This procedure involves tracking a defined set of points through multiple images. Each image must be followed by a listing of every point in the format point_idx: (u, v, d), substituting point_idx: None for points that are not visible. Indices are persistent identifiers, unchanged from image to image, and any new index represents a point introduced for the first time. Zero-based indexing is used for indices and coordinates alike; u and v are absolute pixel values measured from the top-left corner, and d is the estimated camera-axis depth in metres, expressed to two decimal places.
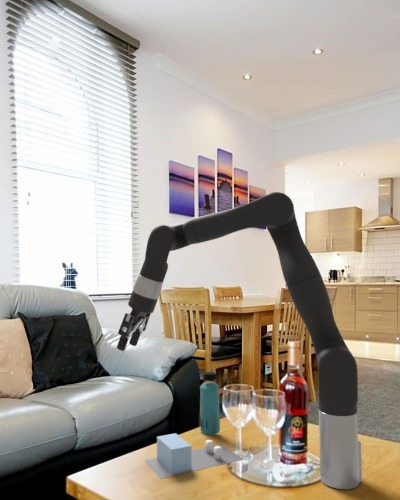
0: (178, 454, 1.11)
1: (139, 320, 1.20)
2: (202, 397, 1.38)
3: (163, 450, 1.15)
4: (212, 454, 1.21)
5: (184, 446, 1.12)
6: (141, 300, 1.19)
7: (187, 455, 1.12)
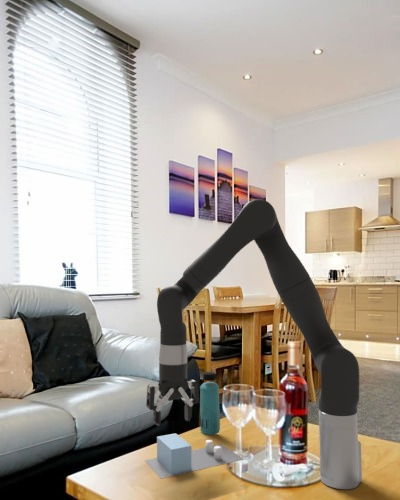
0: (178, 454, 1.11)
1: (168, 390, 1.14)
2: (202, 397, 1.38)
3: (163, 450, 1.15)
4: (212, 454, 1.21)
5: (184, 446, 1.12)
6: (161, 368, 1.14)
7: (187, 455, 1.12)
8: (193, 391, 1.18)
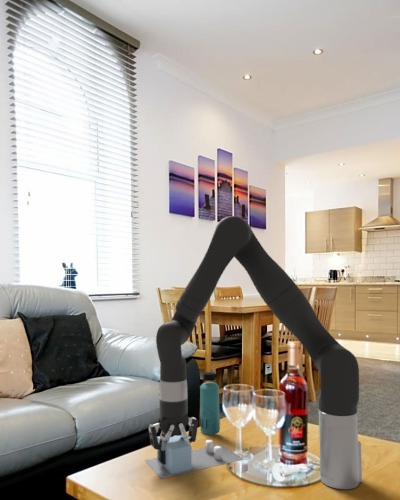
0: (178, 454, 1.11)
1: (169, 427, 1.14)
2: (202, 397, 1.38)
3: None
4: (212, 454, 1.21)
5: (184, 446, 1.12)
6: (161, 405, 1.14)
7: (187, 455, 1.12)
8: (192, 429, 1.18)
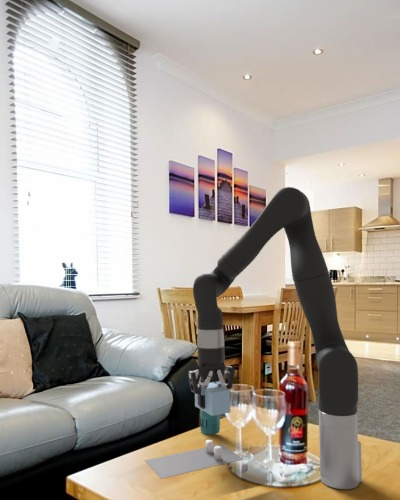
0: (218, 397, 1.16)
1: (207, 373, 1.19)
2: None
3: None
4: (212, 454, 1.21)
5: (223, 390, 1.18)
6: (200, 352, 1.19)
7: (226, 398, 1.17)
8: (228, 376, 1.23)
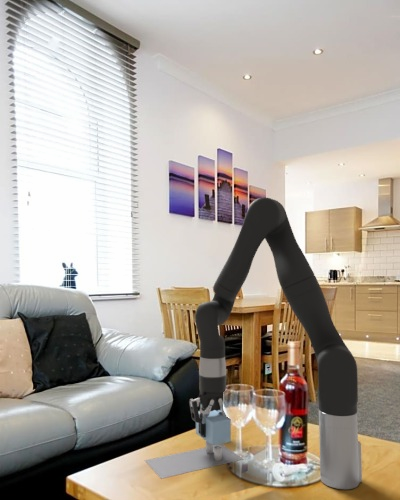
0: (219, 426, 1.16)
1: (209, 401, 1.19)
2: None
3: None
4: (212, 454, 1.21)
5: (224, 419, 1.18)
6: (202, 380, 1.19)
7: (226, 428, 1.17)
8: None
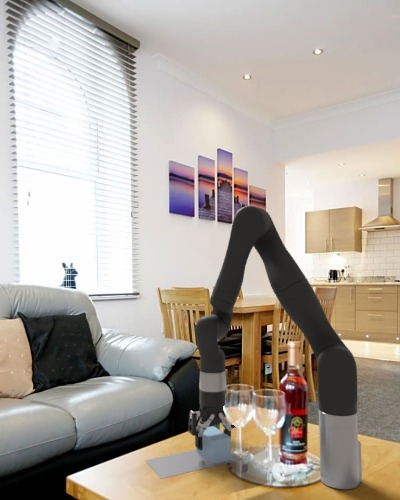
0: (219, 445, 1.16)
1: (209, 416, 1.19)
2: None
3: (203, 442, 1.20)
4: None
5: (224, 437, 1.18)
6: (202, 395, 1.19)
7: (227, 446, 1.17)
8: None
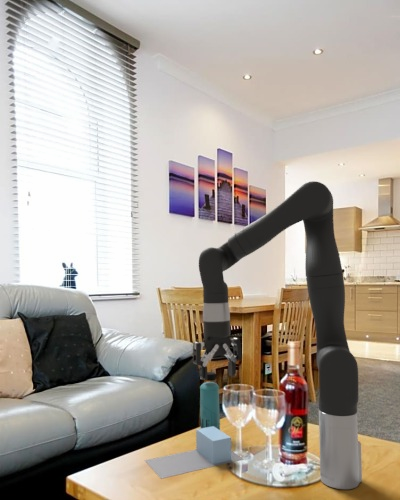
0: (219, 445, 1.16)
1: (213, 346, 1.19)
2: (202, 397, 1.38)
3: (203, 442, 1.20)
4: None
5: (224, 437, 1.18)
6: (206, 325, 1.19)
7: (227, 446, 1.17)
8: (236, 348, 1.23)
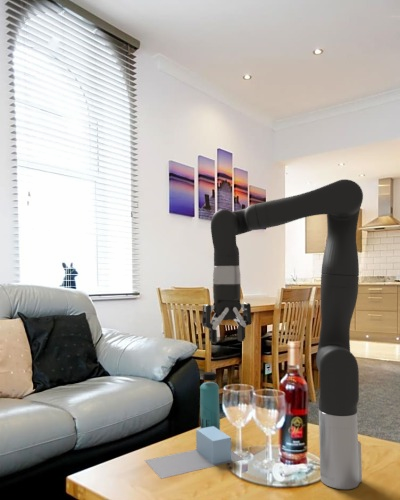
0: (219, 445, 1.16)
1: (223, 309, 1.17)
2: (202, 397, 1.38)
3: (203, 442, 1.20)
4: None
5: (224, 437, 1.18)
6: (216, 288, 1.17)
7: (227, 446, 1.17)
8: (246, 313, 1.21)
